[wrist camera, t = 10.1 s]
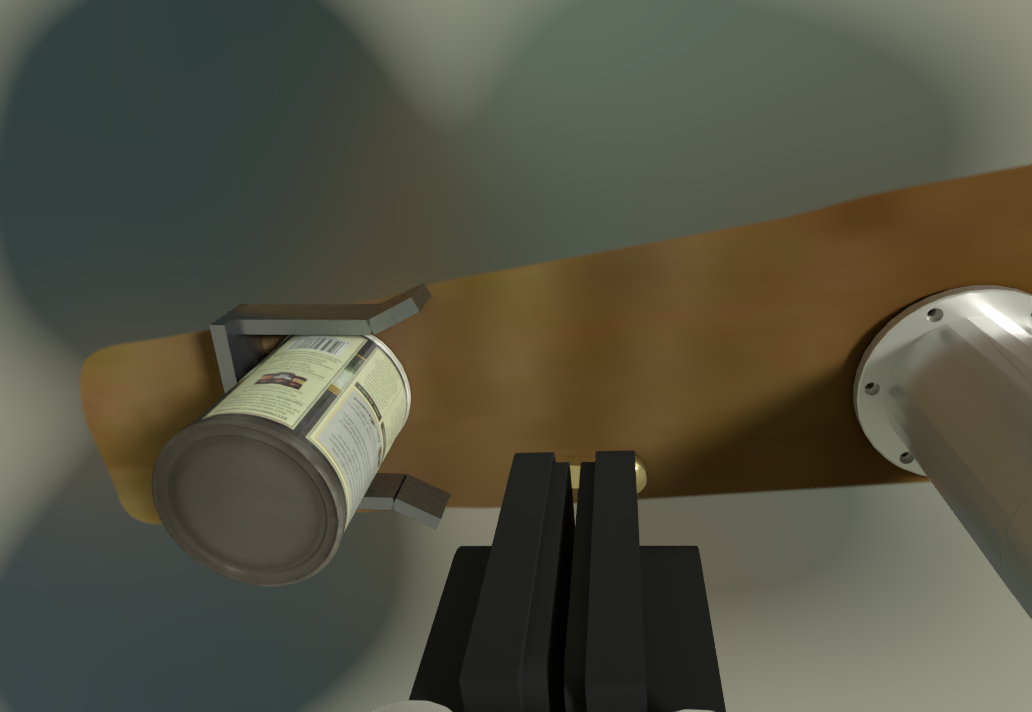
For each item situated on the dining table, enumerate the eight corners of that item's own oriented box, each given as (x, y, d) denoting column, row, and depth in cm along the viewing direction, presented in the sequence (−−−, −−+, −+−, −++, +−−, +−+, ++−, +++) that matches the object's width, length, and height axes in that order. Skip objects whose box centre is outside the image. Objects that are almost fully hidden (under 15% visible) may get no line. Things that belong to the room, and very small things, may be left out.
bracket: (430, 282, 46) (414, 302, 42) (451, 504, 52) (438, 538, 49) (235, 283, 48) (204, 302, 44) (280, 497, 54) (255, 530, 51)
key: (646, 452, 49) (647, 461, 47) (645, 487, 50) (646, 497, 49) (548, 449, 50) (546, 458, 48) (549, 483, 51) (547, 493, 50)
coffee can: (313, 469, 53) (216, 605, 40) (243, 348, 49) (112, 453, 37) (437, 431, 50) (375, 563, 37) (372, 299, 47) (279, 395, 34)
